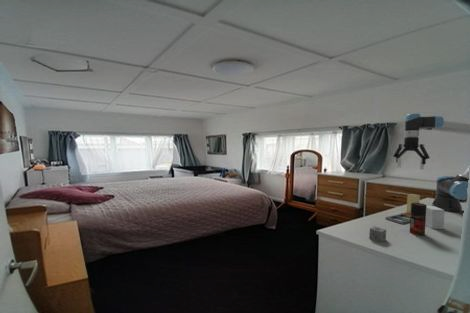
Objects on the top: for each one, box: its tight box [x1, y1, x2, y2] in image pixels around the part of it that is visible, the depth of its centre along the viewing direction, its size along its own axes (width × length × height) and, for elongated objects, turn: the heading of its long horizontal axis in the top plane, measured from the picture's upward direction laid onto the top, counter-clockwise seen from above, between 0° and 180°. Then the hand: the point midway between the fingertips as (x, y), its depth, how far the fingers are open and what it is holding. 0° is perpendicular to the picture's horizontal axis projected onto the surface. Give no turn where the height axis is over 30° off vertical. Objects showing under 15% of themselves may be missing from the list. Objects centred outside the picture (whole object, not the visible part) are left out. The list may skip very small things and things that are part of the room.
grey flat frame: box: [385, 211, 411, 225], centre depth 133 cm, size 24×9×2 cm, turn 115°
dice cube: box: [369, 225, 387, 243], centre depth 104 cm, size 5×5×5 cm
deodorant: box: [409, 202, 428, 237], centre depth 111 cm, size 6×6×15 cm
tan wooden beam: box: [406, 193, 421, 216], centre depth 136 cm, size 4×4×14 cm
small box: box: [425, 205, 445, 230], centre depth 121 cm, size 8×6×10 cm
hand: (409, 168), depth 150 cm, fingers open, 13 cm apart
